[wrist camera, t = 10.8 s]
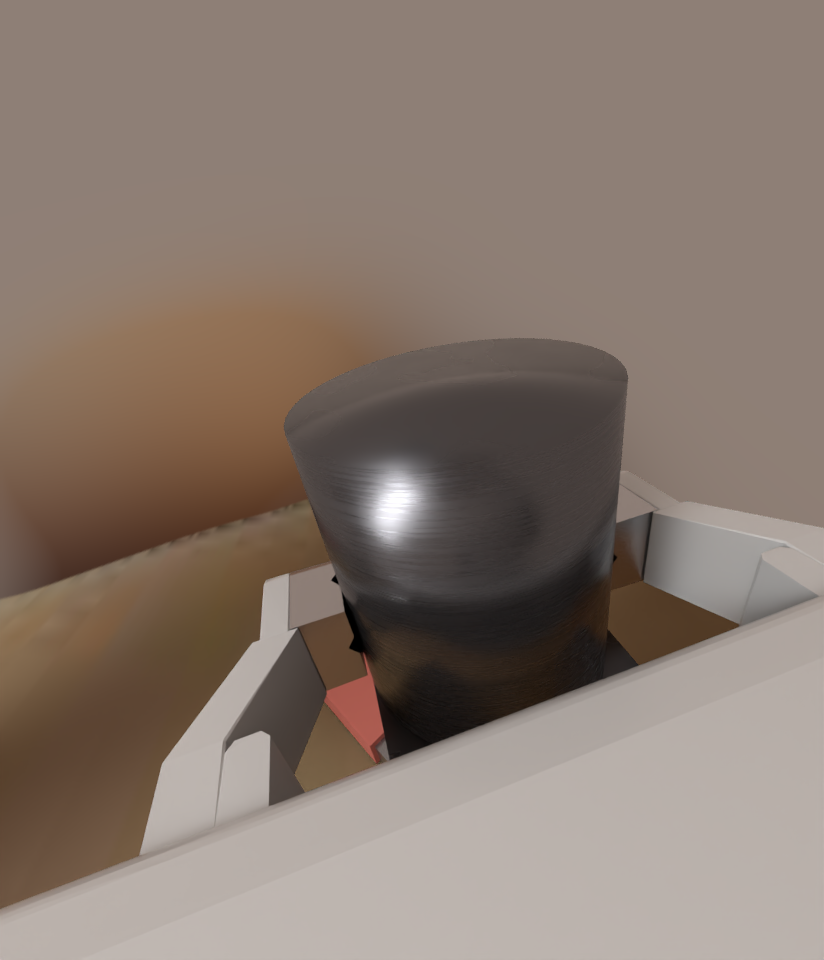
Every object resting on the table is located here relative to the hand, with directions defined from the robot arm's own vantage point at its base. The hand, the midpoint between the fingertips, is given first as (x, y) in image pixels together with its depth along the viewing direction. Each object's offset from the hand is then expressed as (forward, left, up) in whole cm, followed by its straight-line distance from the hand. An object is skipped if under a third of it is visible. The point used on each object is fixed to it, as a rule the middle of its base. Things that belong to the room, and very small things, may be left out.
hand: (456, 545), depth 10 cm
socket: (+1, -1, -6) cm, 6 cm away
